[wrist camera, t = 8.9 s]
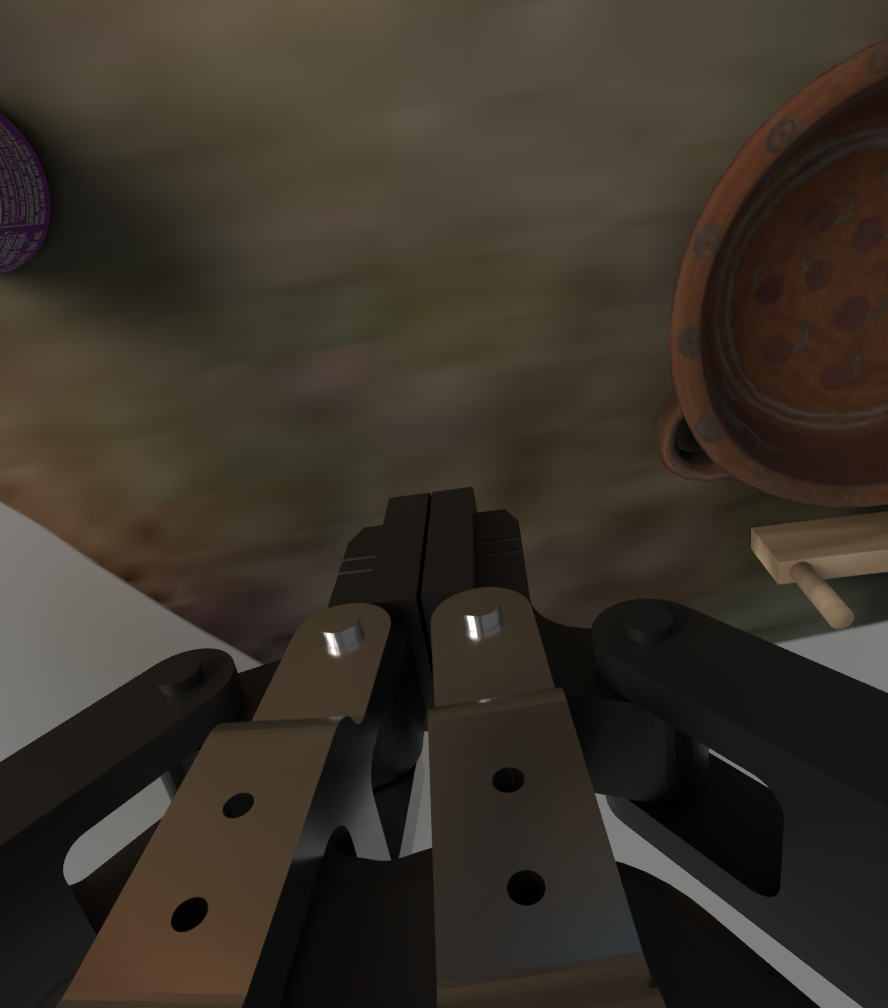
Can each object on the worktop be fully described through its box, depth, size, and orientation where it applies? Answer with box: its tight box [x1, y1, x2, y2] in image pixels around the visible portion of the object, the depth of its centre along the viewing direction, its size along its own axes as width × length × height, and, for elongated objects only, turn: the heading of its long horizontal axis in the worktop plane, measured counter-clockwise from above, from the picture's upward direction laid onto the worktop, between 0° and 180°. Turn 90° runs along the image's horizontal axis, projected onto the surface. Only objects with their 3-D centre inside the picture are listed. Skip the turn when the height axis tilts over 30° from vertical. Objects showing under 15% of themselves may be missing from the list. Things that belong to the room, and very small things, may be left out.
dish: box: [653, 39, 888, 507], centre depth 29 cm, size 17×22×5 cm
